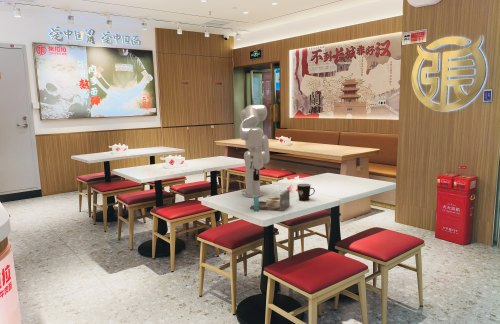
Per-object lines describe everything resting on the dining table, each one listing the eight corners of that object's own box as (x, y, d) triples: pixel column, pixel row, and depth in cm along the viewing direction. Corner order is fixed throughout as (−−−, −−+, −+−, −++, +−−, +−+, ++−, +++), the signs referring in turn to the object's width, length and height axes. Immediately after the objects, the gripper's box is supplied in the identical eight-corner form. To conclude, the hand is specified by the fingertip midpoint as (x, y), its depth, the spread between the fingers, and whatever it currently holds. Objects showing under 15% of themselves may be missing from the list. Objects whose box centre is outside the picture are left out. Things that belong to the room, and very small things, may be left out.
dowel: (253, 211, 224) (252, 198, 223) (255, 209, 227) (254, 196, 226) (257, 211, 223) (257, 198, 222) (259, 210, 226) (259, 197, 225)
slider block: (266, 207, 227) (266, 200, 227) (271, 203, 236) (271, 196, 235) (280, 208, 224) (280, 201, 223) (285, 204, 232) (285, 197, 232)
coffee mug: (294, 199, 249) (294, 184, 248) (306, 197, 252) (305, 183, 251) (304, 203, 238) (304, 187, 237) (315, 201, 242) (315, 186, 240)
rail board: (250, 209, 229) (249, 192, 228) (257, 203, 241) (257, 188, 240) (283, 211, 222) (283, 194, 220) (289, 205, 234) (289, 189, 232)
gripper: (255, 150, 213) (256, 182, 216) (266, 148, 227) (267, 178, 229) (243, 150, 217) (245, 182, 219) (254, 148, 230) (255, 178, 232)
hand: (256, 180), depth 224 cm, fingers closed
